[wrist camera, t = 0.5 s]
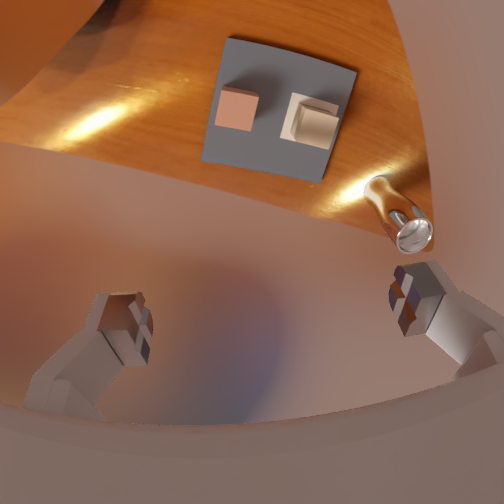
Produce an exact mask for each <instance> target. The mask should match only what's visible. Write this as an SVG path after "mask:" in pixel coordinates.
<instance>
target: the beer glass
mask: <svg viewBox="0 0 504 504" xmlns="http://www.w3.org/2000/svg"><path fill="white" fill-rule="evenodd" d="M364 198H365V200H366V201H367V202H368V203H369V204H370V205H371V206H373V207H374V209H375V210H376V213H377V215H378V218H379V220H380V223H381V225H382V227H383V229H384V231H385V232H386V234H387V235H388V237H389V238H390V239H391V241H392V242H393V243H394V244H395V245H396V247H397V248H398V250H400V252H402V253H404V254H412V253H416V252H418V251H420V250H421V249H423V248H424V247H425V246H426V245H427V244H428V242H429V241H430V239H431V237H432V233H433V227H432V224H431V222H430V221H429V220H428V219H427V217H426V216H425V214H424V213H423V212H422V210H421V209H420V208H419V207H418V206H417V205H416V204H415V203H414V202H413V201H412V200H410V199H409V198H408V197H406V196H404V195H403V194H401V193H400V192H398V191H397V190H396V189H395V188H394V186H393V184H392V182H391V181H390V180H389V179H388V178H386V177H383V176H377V177H374V178H372V179H371V180H370V181H369V182H368V183H367V184H366V186H365V188H364Z"/></svg>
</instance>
